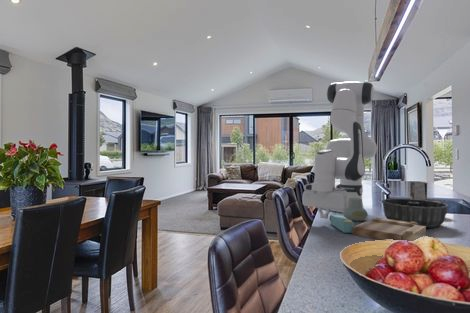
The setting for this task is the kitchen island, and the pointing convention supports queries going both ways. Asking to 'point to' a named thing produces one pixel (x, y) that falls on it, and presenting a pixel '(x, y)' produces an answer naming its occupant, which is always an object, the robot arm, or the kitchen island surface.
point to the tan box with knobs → (390, 229)
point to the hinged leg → (341, 223)
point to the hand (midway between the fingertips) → (324, 218)
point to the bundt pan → (415, 211)
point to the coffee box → (418, 190)
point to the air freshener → (355, 210)
